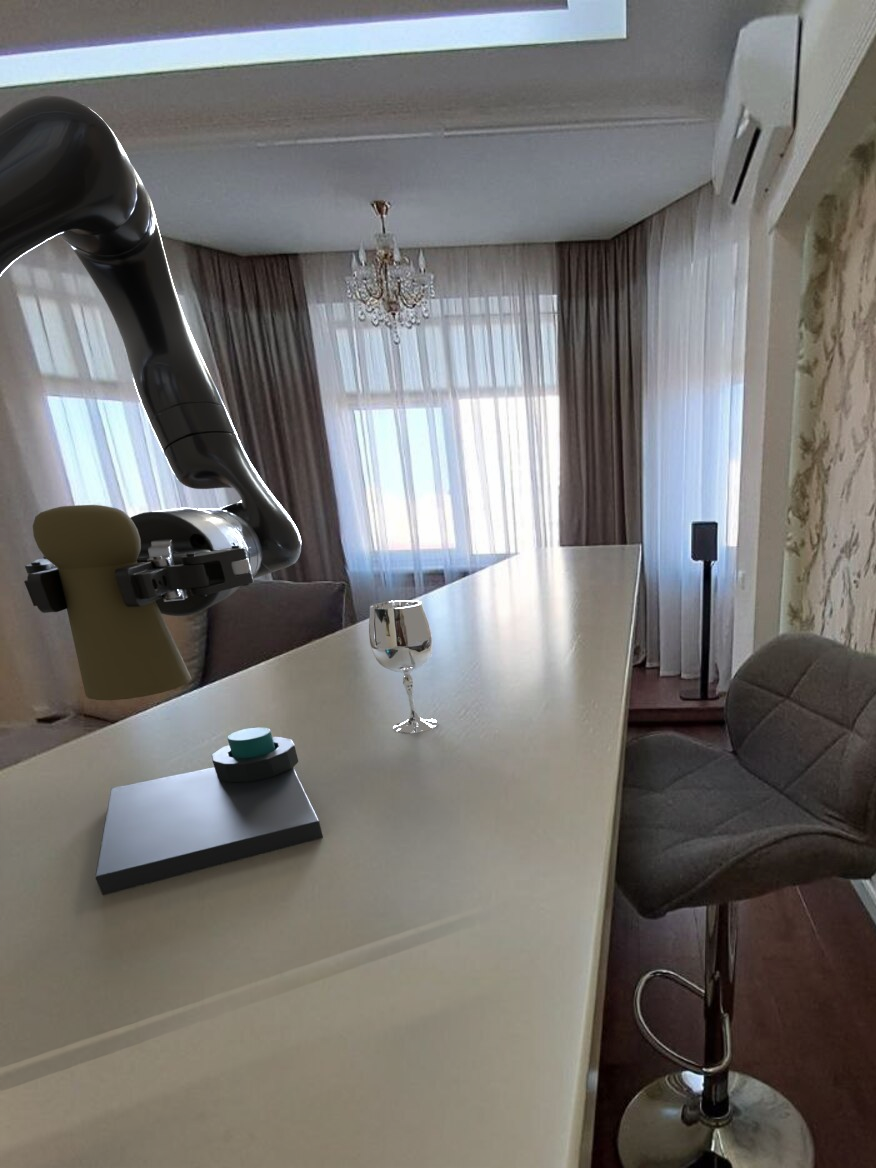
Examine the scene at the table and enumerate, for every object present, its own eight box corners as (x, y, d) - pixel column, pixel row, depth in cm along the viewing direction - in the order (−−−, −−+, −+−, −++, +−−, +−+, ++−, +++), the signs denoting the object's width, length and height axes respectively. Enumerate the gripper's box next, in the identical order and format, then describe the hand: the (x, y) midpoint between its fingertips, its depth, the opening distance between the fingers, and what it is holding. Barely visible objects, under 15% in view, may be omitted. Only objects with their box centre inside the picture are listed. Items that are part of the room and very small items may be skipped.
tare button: (278, 755, 55) (272, 735, 54) (234, 764, 54) (228, 743, 53) (273, 744, 58) (267, 724, 57) (231, 752, 56) (225, 732, 56)
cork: (133, 703, 42) (63, 507, 37) (62, 697, 43) (-12, 510, 38) (212, 676, 47) (160, 501, 42) (146, 671, 48) (89, 503, 44)
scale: (331, 836, 48) (322, 797, 46) (102, 896, 42) (84, 854, 40) (295, 763, 61) (287, 731, 59) (117, 801, 55) (104, 766, 53)
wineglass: (423, 738, 65) (403, 610, 60) (374, 733, 67) (350, 609, 62) (455, 719, 70) (438, 600, 65) (408, 715, 72) (388, 599, 67)
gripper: (72, 513, 52) (-86, 529, 37) (268, 504, 54) (194, 515, 39) (107, 613, 55) (-26, 665, 40) (290, 600, 58) (230, 645, 42)
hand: (84, 591), depth 40 cm, fingers closed on cork, 4 cm apart
